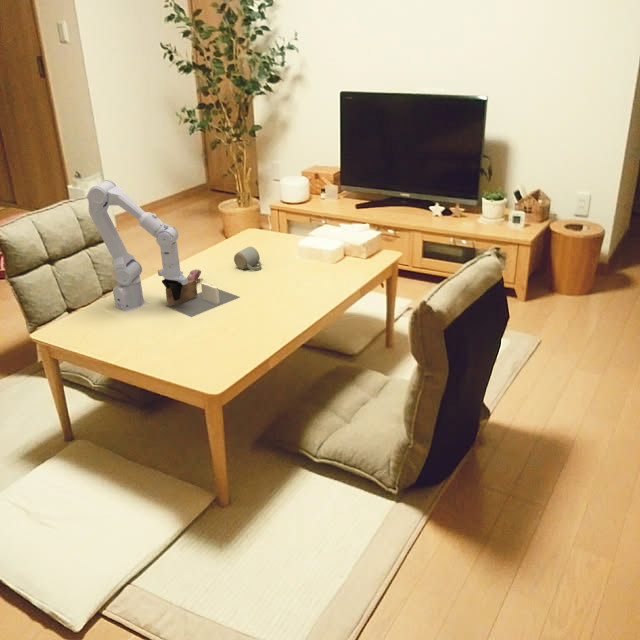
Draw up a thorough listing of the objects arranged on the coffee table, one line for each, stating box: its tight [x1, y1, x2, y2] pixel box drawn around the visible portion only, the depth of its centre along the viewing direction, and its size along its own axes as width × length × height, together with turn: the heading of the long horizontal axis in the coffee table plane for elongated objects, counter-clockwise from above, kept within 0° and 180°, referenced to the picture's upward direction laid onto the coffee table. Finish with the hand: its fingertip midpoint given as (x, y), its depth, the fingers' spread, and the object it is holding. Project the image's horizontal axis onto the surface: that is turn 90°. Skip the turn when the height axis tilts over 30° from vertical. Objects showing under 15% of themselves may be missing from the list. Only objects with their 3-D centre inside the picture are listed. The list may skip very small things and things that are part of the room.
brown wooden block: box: [165, 279, 198, 306], centre depth 235 cm, size 12×2×6 cm, turn 138°
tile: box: [200, 282, 220, 304], centre depth 236 cm, size 1×8×6 cm, turn 48°
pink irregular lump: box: [186, 268, 202, 283], centre depth 253 cm, size 10×5×7 cm, turn 169°
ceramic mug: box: [233, 246, 262, 272], centre depth 267 cm, size 11×8×8 cm
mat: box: [165, 288, 241, 318], centre depth 237 cm, size 22×15×1 cm
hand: (175, 298), depth 234 cm, fingers closed on brown wooden block, 1 cm apart
